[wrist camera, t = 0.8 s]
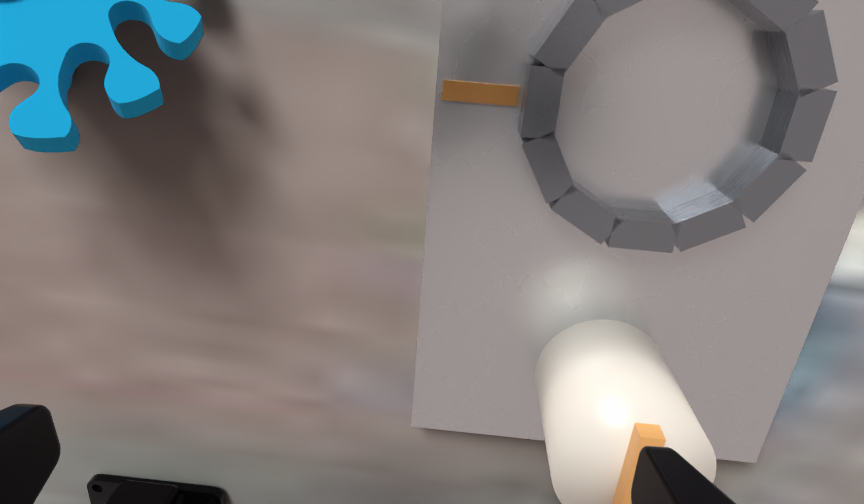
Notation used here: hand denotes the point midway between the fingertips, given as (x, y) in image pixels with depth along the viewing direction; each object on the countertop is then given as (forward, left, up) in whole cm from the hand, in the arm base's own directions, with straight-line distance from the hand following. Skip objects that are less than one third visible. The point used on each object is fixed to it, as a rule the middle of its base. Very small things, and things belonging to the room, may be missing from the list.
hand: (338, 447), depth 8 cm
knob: (-6, -7, -12) cm, 15 cm away
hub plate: (-1, -8, -13) cm, 15 cm away
